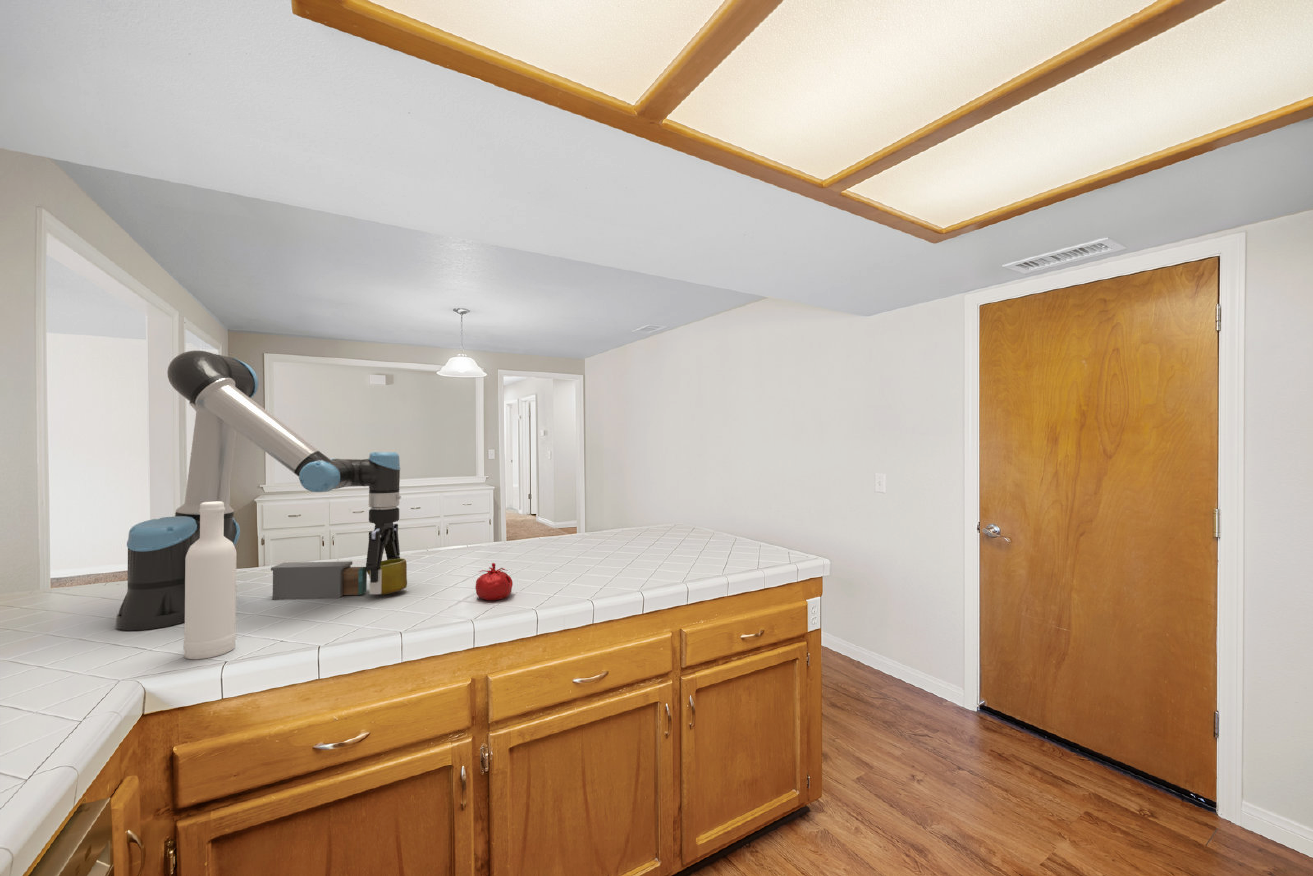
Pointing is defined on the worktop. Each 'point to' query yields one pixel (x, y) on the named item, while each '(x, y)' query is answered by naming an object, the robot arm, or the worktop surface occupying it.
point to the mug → (393, 575)
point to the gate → (354, 581)
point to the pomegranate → (493, 584)
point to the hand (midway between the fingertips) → (383, 588)
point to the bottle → (210, 588)
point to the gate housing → (308, 580)
